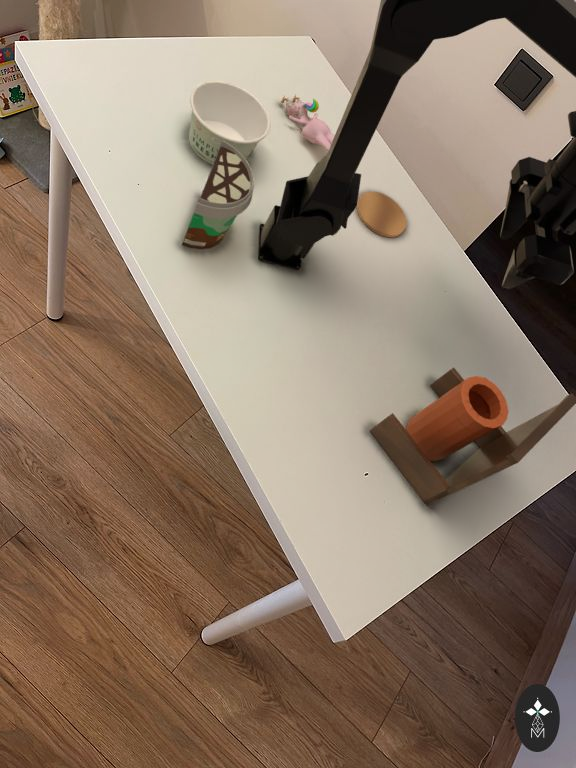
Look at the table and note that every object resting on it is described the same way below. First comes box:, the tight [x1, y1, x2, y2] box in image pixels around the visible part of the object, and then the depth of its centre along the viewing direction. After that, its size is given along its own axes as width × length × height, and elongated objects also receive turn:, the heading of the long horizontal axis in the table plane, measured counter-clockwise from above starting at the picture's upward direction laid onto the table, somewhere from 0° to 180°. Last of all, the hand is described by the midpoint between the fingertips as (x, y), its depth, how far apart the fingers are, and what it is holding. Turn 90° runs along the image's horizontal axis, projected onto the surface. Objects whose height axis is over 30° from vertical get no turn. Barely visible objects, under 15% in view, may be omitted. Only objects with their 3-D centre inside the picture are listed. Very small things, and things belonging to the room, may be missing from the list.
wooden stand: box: [369, 367, 576, 506], centre depth 74 cm, size 12×15×17 cm
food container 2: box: [181, 140, 255, 250], centre depth 79 cm, size 12×6×10 cm, turn 168°
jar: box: [406, 375, 509, 462], centre depth 76 cm, size 7×7×12 cm
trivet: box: [356, 191, 407, 238], centre depth 98 cm, size 9×9×1 cm
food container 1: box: [188, 80, 271, 166], centre depth 88 cm, size 12×12×6 cm
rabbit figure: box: [279, 93, 335, 152], centre depth 98 cm, size 6×6×15 cm
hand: (504, 261), depth 81 cm, fingers open, 9 cm apart
